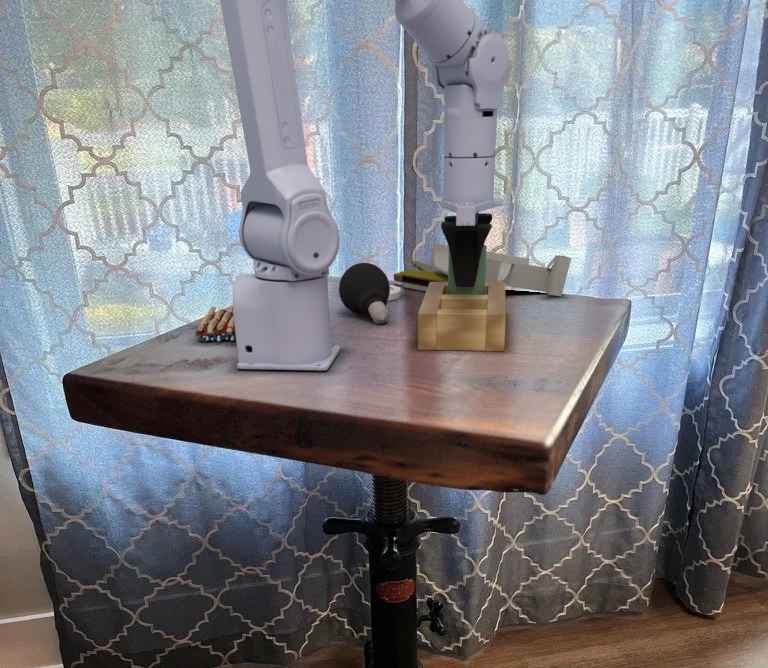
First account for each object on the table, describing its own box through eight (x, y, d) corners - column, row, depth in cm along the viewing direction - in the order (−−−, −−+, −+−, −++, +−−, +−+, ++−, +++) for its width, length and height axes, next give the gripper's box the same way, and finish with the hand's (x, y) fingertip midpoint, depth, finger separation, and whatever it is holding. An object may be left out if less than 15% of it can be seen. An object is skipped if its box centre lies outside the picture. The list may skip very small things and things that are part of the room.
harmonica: (408, 267, 116) (409, 281, 117) (393, 272, 115) (394, 286, 116) (480, 279, 106) (481, 294, 107) (464, 285, 105) (465, 299, 106)
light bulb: (368, 294, 91) (340, 249, 97) (352, 340, 95) (326, 295, 101) (415, 299, 94) (385, 256, 100) (398, 343, 98) (370, 299, 104)
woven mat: (191, 326, 88) (194, 344, 89) (285, 323, 88) (287, 340, 89) (206, 305, 97) (209, 322, 98) (292, 302, 98) (293, 318, 99)
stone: (436, 286, 114) (467, 285, 116) (437, 272, 113) (468, 271, 115) (406, 270, 125) (435, 270, 126) (406, 257, 124) (436, 257, 125)
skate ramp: (521, 279, 118) (530, 244, 116) (561, 297, 106) (571, 258, 104) (429, 265, 113) (436, 228, 111) (460, 281, 102) (468, 241, 100)
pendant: (411, 290, 108) (411, 296, 109) (368, 278, 116) (368, 283, 117) (368, 298, 105) (368, 304, 105) (327, 285, 113) (327, 290, 113)
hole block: (417, 349, 85) (417, 313, 83) (429, 313, 100) (429, 281, 98) (504, 351, 84) (505, 314, 82) (503, 314, 99) (504, 282, 97)
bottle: (446, 310, 93) (448, 216, 88) (448, 302, 96) (450, 212, 92) (483, 311, 92) (487, 216, 87) (484, 302, 96) (488, 211, 91)
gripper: (506, 160, 80) (500, 295, 86) (505, 152, 92) (499, 270, 99) (437, 161, 81) (435, 295, 87) (445, 153, 93) (443, 270, 100)
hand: (465, 282), depth 93 cm, fingers closed on bottle, 4 cm apart
